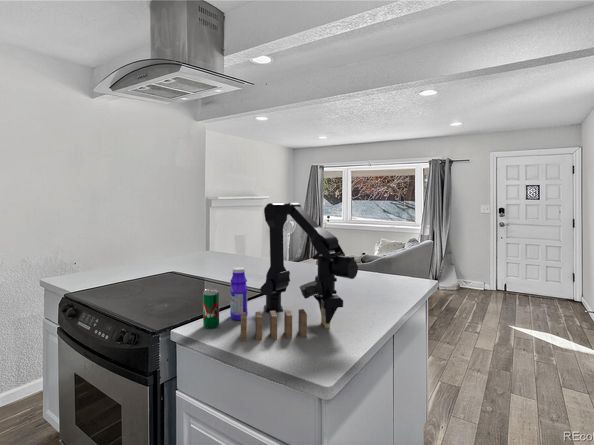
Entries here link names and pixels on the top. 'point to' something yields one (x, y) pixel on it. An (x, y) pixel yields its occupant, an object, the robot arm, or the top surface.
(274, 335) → the domino
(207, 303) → the soda can
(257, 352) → the top surface
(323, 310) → the oak domino
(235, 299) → the bottle
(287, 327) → the domino
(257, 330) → the domino
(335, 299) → the robot arm
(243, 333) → the domino
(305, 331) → the domino
